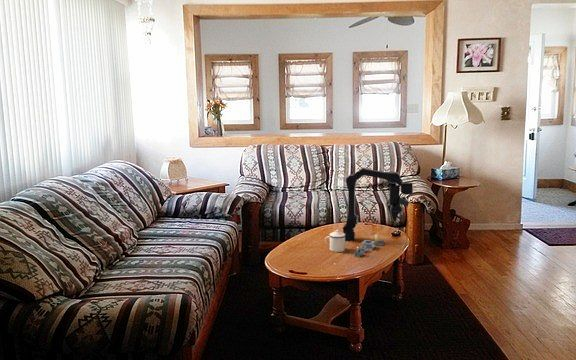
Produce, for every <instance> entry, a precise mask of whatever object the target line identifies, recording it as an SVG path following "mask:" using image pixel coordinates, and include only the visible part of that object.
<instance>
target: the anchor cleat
mask: <svg viewBox="0 0 576 360" xmlns="http://www.w3.org/2000/svg"><path fill="white" fill-rule="evenodd" d="M360 247H361V246H357V248H356V249H357V250H355V251H354V257H357V258H361V257H362V256H363V255H364V253H363V250H360Z"/></svg>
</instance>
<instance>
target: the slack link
mask: <svg viewBox="0 0 576 360" xmlns="http://www.w3.org/2000/svg"><path fill="white" fill-rule="evenodd" d="M359 247H360V250H363V254H365V253H366V252H368V250H367V247H365V246H362V245H361V246H359Z"/></svg>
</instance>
